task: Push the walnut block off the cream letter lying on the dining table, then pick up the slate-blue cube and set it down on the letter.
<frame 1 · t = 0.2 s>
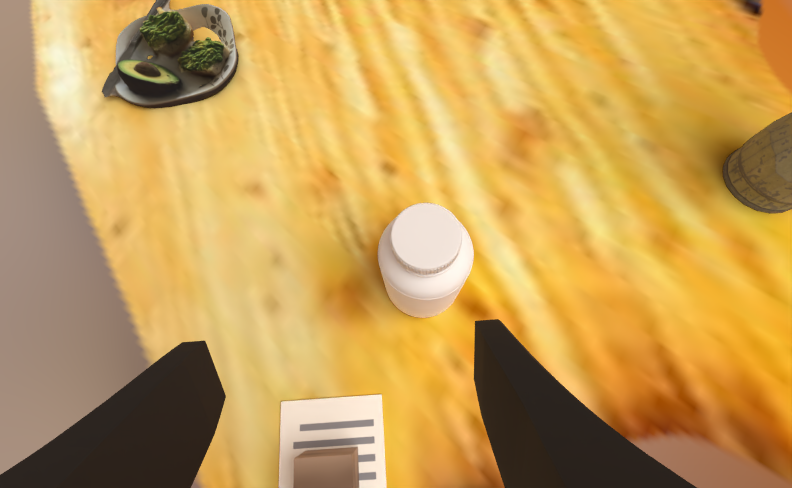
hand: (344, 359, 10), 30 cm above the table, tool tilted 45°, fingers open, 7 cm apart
walnut block: (332, 478, 36), resting on letter
letter: (332, 478, 36), on the table
pill bottle: (421, 283, 42), on the table
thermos: (761, 179, 45), on the table
salad plate: (179, 64, 54), on the table
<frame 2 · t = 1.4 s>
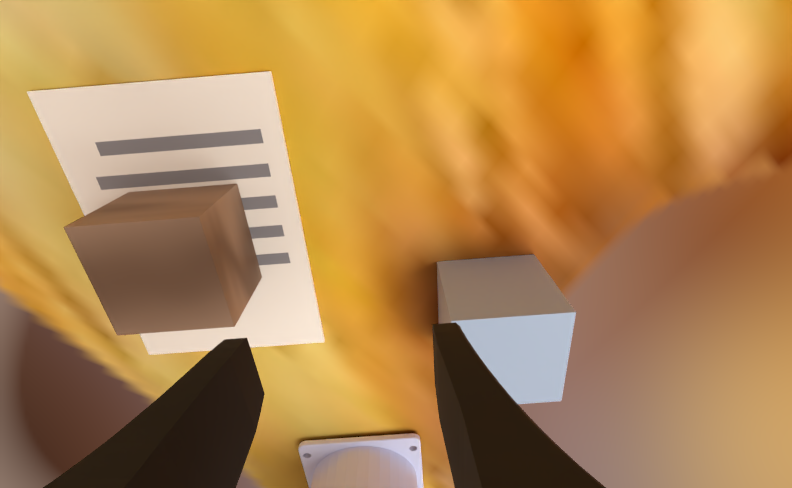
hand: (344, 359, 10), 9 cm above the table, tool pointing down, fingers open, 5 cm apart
walnut block: (199, 237, 19), resting on letter
slate cube: (483, 297, 21), on the table
letter: (201, 235, 19), on the table
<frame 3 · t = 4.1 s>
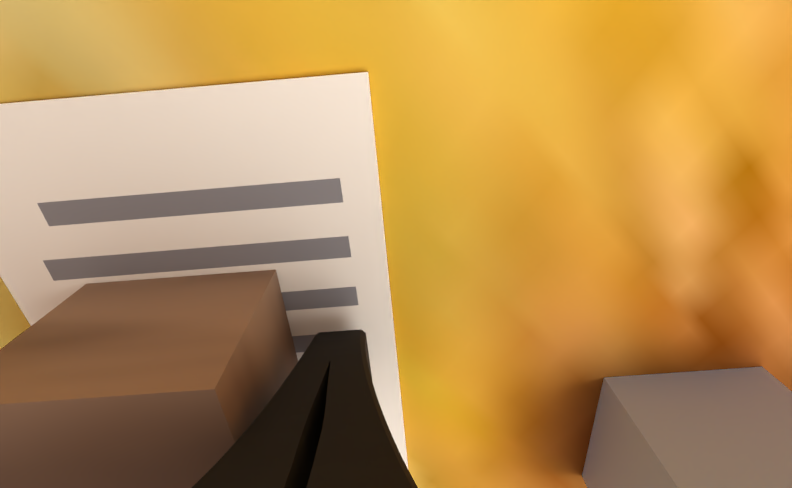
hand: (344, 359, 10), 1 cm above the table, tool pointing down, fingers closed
walnut block: (208, 350, 11), resting on letter, touching gripper
slate cube: (662, 423, 14), on the table
letter: (225, 345, 11), on the table
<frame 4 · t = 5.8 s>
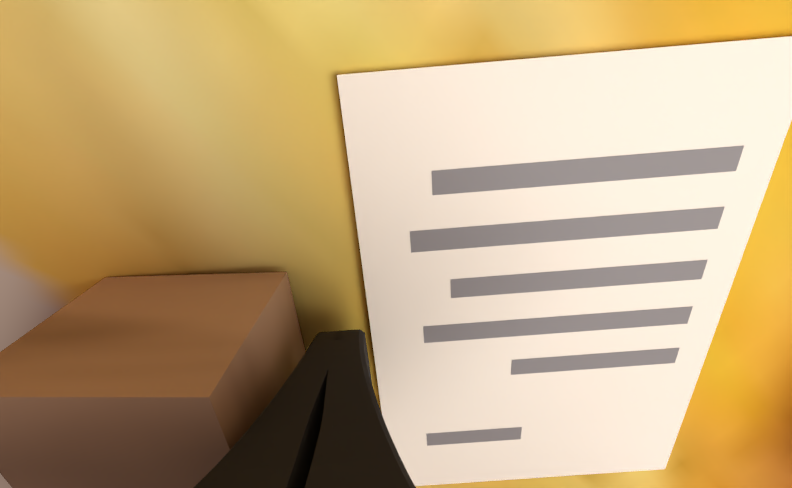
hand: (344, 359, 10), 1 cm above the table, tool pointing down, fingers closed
walnut block: (220, 348, 11), on the table, touching gripper
letter: (543, 321, 11), on the table
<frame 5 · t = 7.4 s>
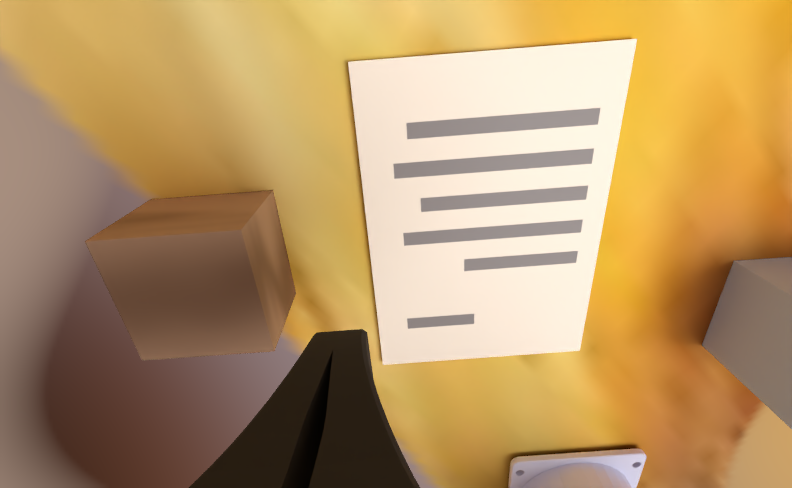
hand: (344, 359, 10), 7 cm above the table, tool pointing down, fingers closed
walnut block: (229, 247, 17), on the table
slate cube: (766, 301, 19), on the table
letter: (484, 231, 17), on the table
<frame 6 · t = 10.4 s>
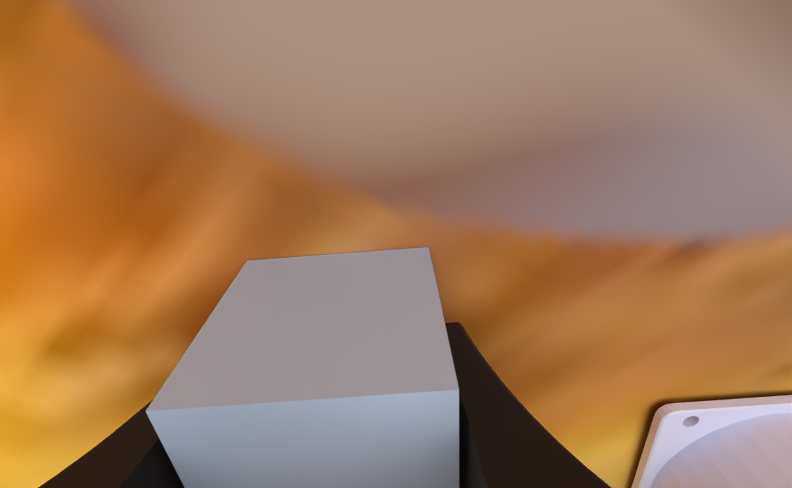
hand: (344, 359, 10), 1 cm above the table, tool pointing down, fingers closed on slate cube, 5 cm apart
slate cube: (349, 326, 12), on the table, touching gripper
when the fingers open (3 cm above the table, at t = 13.8 s): slate cube stays where it is, resting on letter.
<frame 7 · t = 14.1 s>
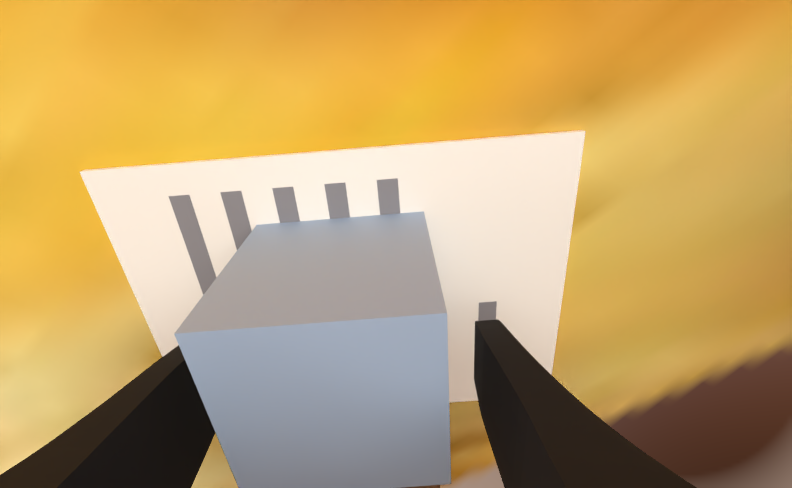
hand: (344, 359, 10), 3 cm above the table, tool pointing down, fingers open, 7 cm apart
slate cube: (350, 288, 13), resting on letter
letter: (353, 298, 13), on the table
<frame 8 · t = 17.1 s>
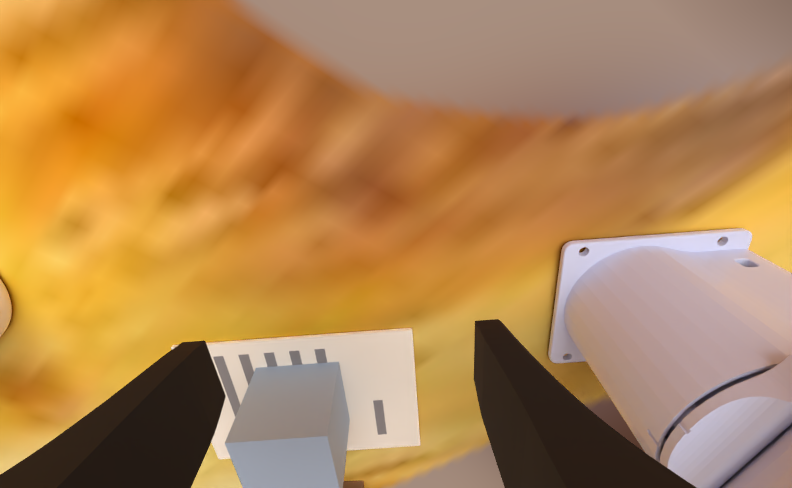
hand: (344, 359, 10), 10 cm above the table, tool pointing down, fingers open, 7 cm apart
slate cube: (304, 394, 24), resting on letter
letter: (306, 398, 25), on the table
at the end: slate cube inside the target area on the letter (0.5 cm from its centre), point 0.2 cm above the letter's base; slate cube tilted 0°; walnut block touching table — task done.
